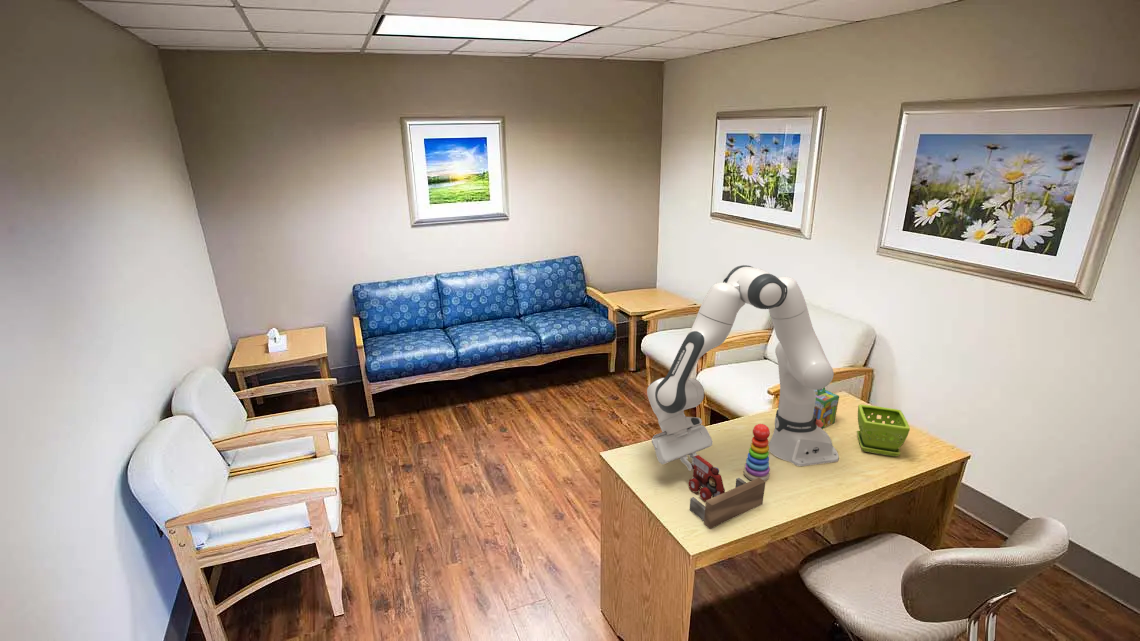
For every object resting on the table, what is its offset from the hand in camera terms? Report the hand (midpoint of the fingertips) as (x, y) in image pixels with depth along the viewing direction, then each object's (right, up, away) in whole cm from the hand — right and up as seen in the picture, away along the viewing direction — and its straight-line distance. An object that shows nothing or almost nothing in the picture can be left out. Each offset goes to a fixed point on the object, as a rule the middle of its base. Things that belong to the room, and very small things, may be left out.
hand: (694, 469), depth 173 cm
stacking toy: (+21, -4, +5) cm, 22 cm away
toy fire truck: (+3, -7, -4) cm, 8 cm away
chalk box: (+55, +8, +36) cm, 67 cm away
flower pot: (+68, +2, +19) cm, 71 cm away
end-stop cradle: (+7, -9, -10) cm, 15 cm away
